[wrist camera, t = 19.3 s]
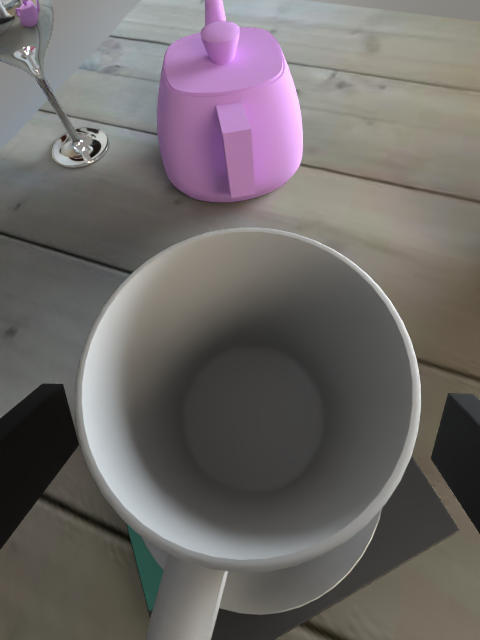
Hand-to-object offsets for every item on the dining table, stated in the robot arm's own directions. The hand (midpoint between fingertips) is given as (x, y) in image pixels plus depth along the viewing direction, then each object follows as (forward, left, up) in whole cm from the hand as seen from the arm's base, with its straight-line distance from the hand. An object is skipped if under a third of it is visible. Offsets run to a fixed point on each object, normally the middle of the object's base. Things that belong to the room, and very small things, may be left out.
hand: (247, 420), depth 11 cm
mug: (-1, 0, -7) cm, 7 cm away
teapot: (+10, +25, -11) cm, 29 cm away
